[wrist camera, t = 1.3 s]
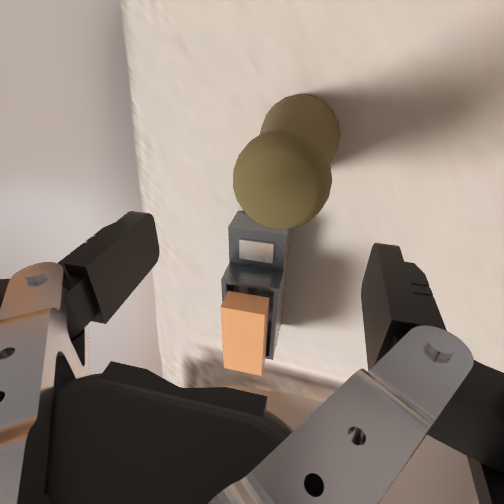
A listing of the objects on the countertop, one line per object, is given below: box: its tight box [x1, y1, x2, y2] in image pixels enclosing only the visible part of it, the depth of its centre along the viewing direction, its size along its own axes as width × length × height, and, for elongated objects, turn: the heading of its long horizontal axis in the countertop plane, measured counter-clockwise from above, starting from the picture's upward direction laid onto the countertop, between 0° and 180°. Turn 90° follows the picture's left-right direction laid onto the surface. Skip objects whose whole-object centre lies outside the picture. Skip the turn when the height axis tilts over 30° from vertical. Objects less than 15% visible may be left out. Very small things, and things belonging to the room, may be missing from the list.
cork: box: [233, 94, 340, 229], centre depth 19 cm, size 6×6×11 cm
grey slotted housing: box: [221, 211, 290, 360], centre depth 30 cm, size 14×5×6 cm, turn 0°
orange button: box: [221, 291, 269, 376], centre depth 27 cm, size 8×4×2 cm, turn 0°
